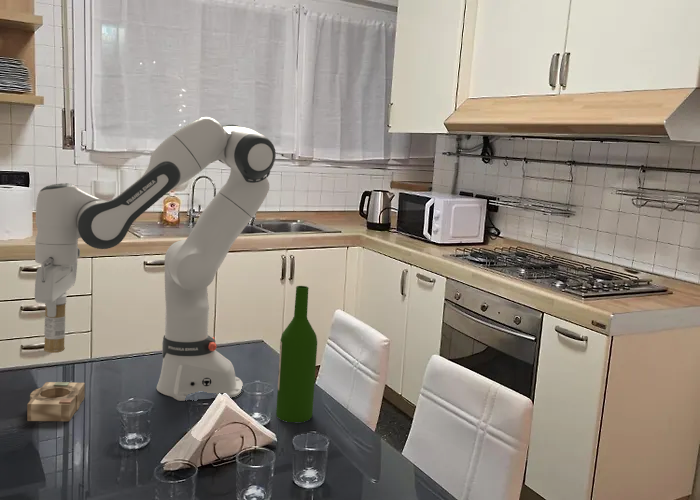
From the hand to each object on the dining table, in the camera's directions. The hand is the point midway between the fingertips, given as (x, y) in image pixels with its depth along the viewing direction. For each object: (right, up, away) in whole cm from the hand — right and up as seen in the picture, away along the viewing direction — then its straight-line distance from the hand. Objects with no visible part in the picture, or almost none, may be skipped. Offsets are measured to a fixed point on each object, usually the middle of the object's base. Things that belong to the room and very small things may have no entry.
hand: (55, 313), depth 151 cm
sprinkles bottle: (-1, -9, +1) cm, 9 cm away
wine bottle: (+54, -27, +10) cm, 61 cm away
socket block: (-1, -23, +3) cm, 23 cm away
